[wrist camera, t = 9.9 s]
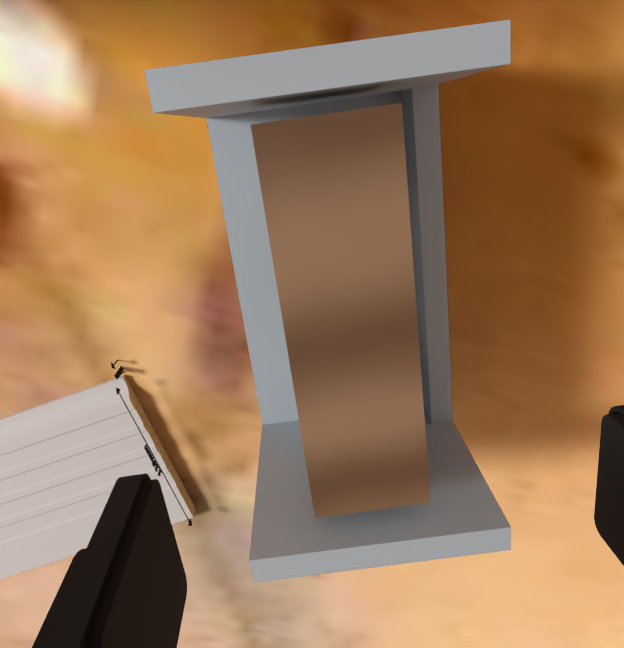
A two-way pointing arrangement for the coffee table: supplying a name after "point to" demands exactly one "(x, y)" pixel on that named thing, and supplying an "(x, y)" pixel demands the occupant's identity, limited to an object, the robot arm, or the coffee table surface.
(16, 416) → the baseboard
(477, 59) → the peg frame
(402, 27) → the coffee table surface
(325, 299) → the shelf board
